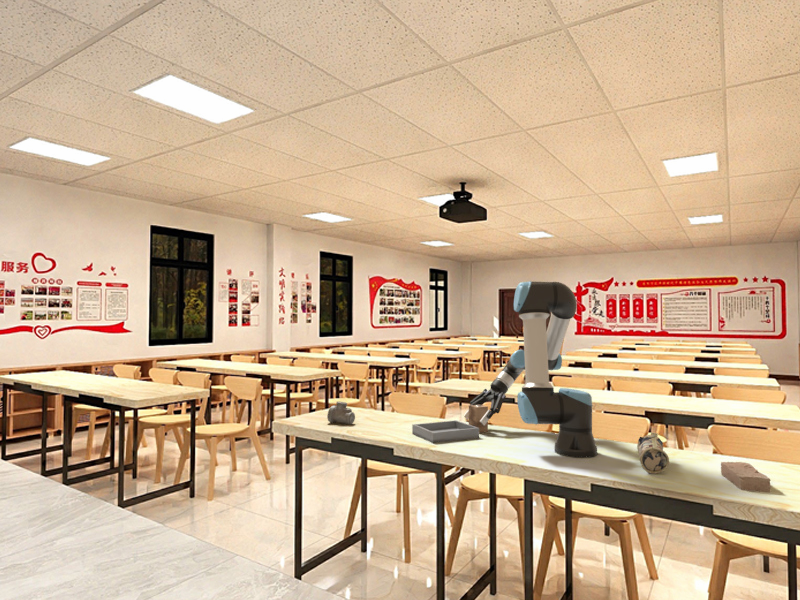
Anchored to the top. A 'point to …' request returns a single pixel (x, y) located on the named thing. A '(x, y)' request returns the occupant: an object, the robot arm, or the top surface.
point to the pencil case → (652, 454)
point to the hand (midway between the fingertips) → (473, 420)
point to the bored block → (478, 417)
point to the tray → (445, 431)
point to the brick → (745, 476)
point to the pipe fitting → (341, 413)
